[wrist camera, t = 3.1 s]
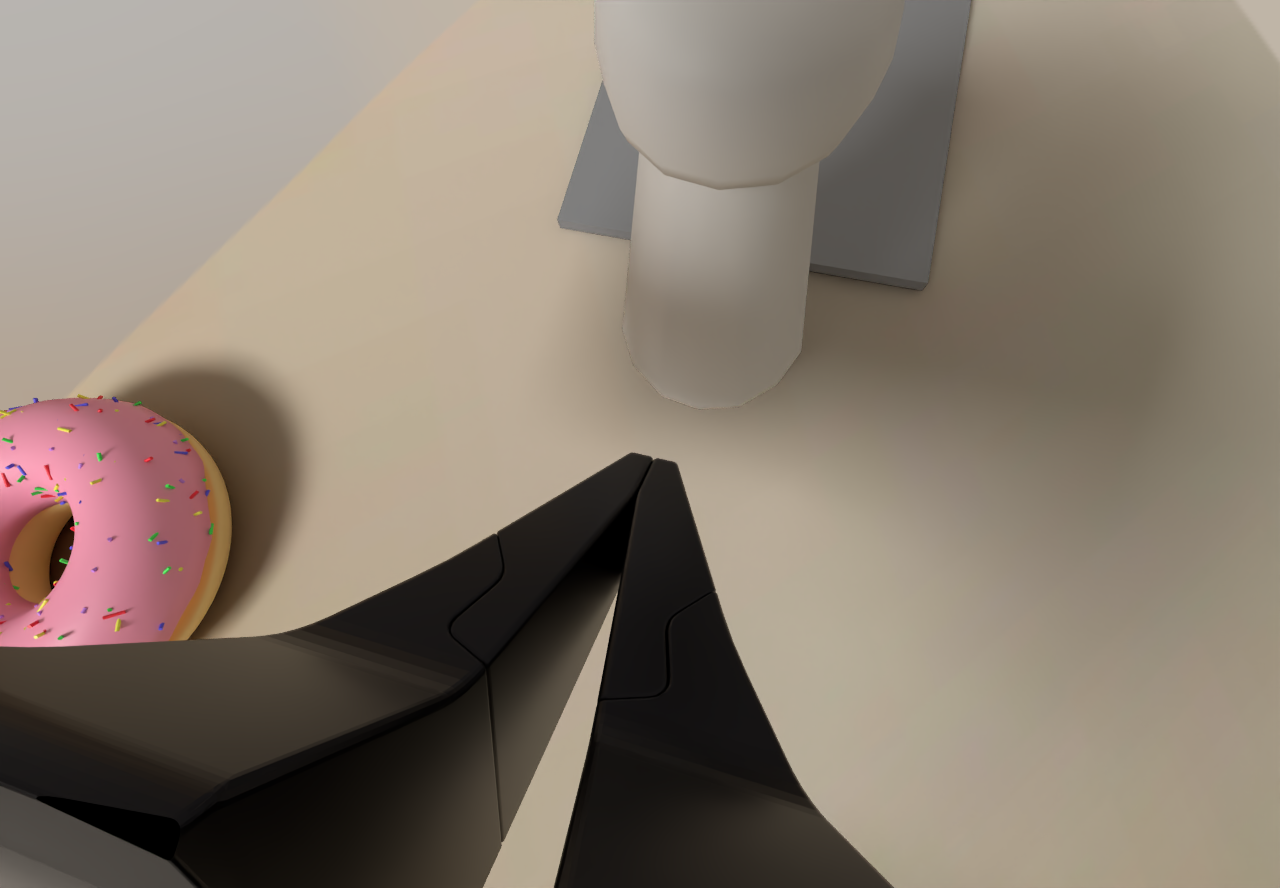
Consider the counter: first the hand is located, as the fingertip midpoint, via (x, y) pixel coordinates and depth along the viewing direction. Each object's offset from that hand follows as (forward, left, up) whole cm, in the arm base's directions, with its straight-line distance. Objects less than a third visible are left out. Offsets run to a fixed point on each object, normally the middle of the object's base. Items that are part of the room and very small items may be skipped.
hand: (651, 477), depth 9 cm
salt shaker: (+3, -6, -9) cm, 11 cm away
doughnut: (+15, +14, -9) cm, 23 cm away
